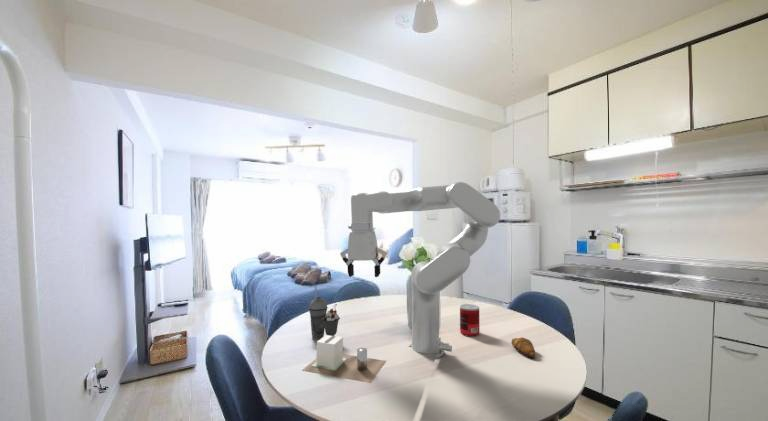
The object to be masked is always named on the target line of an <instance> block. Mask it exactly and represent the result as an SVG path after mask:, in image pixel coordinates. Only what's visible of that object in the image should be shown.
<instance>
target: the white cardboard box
mask: <svg viewBox="0 0 768 421" xmlns="http://www.w3.org/2000/svg"><path fill="white" fill-rule="evenodd" d="M343 346H344V337H342V336H336V335H334V336H329V335H326V334H325V335H324V337H323V338H321V339H318V340H317V341H316V355H315V356H316V358H315V359H316V365H319V366H325V367H331V368H334V367H335V366H336V365H337V364H339V363H340V362H341V361H342V360H343V354H344V352H343V351H344V347H343Z"/></svg>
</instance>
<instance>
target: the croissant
mask: <svg viewBox="0 0 768 421" xmlns="http://www.w3.org/2000/svg"><path fill="white" fill-rule="evenodd" d="M511 344H512V347H513V346H514V347H513V348H514V350H515V351H517V350H518V351H519V352H518V351H517V352H518V353H520V352H521V354H522V355H523V354H524V355H523V356H525V355H526V356H525V357H527V356H528V357H527V358H529V357H530V358H529V359H535V358H536V350H535V347H534V345H533V343H532V341H531V340H530V339H528V338H525V337H516V338H512V339H511Z"/></svg>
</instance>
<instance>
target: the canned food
mask: <svg viewBox="0 0 768 421" xmlns="http://www.w3.org/2000/svg"><path fill="white" fill-rule="evenodd" d="M459 331H460V332H459V333H460V334H461V333H462V334H463V336H465V335H467V336H466V337H470V336H474V337H477V336H476V335H478V334H479V335H480V307H479V305H476V304H472V303H471V304H470V303H465V304H460V305H459ZM462 334H461V335H462ZM479 335H478V336H479Z"/></svg>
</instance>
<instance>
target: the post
mask: <svg viewBox="0 0 768 421" xmlns="http://www.w3.org/2000/svg"><path fill="white" fill-rule="evenodd" d="M356 352H357V353H356V356H357V369H358V370H361V371H362V370H366V369H367V358H368V349H367V348H366V347H359V348H357V351H356Z"/></svg>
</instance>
